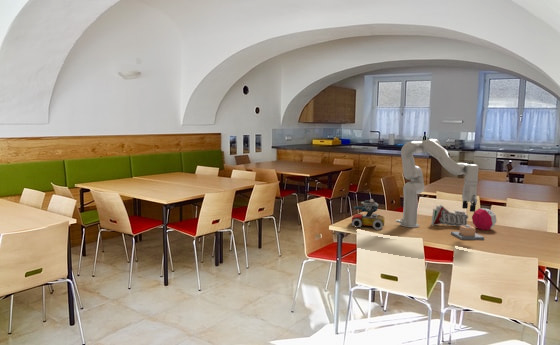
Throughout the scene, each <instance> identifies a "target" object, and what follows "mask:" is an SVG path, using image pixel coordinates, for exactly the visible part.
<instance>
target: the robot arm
mask: <svg viewBox="0 0 560 345" xmlns="http://www.w3.org/2000/svg"><path fill="white" fill-rule="evenodd" d="M422 153H428V154H430V155H431V156H432V157H433V158H435V159H436V160H437V161H438V162H439V163H440V165H441V166H442V167H443V168H444V169H445V170H446V171H448V173H450V174H451V175H454V176H459V175H464V182H463V183H464V184H463V189H462V194H461V199H462V207H461V208H462V209H463V210H464V209H466V210H467V209H468V205H469V203H470V205H469V212H471V213H472V212H473V213H474V212H475V211H476V206H477V203H478V198H477V196H478V195H477V194H478V192H477V191H478V189H477V187H478V181H479V180H478V178H479V165H478V164H473V163H470V164H469V163H465V162H456V161H455V160H453V159H452V158H451V157H450V156H449V152H448V150H447V149H446V148H445V147H443V146H442V145H441V142H440V141H439V139H436V138H428V139H425V140H411V141H408V142H406V143H404V145H403V146H402V147H401V150H400V155H401V162H402V172H403V177H404V178H405V179H406V180H410V181H408V182H406V183H405V184H404V185H403V188H402V189H403V190H402V192H403V208H402V209H403V211H402V218H401V219H395V223H399V225H400V226H401V227H404V228H418V227H419V226H420V225H419V223H418V209H419V208H418V203H419V202H418V201H419V199H418V195H419V194H422V193H423V191H424V190H425V182H424V180H425V179H424V174H423V170H422V168H421V167H420V166H418V165H416V161H415V157H414V154H422Z"/></svg>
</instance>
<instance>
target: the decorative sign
mask: <svg viewBox="0 0 560 345" xmlns="http://www.w3.org/2000/svg"><path fill="white" fill-rule="evenodd" d="M468 219H469V215H468V214H466V212H465V211H462V210H461V211H460V210H454V212H453V211H449V210H448V209H447V208H445V207H444V205H442V204H440V205H436V206H435V208H433V209H432V216H431V223H430V225H431V226H432V225H435V226H439V225H442V226H443V225H446V226H451V227H453V226H455V227H460V226H466V225H468Z"/></svg>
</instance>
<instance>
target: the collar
mask: <svg viewBox="0 0 560 345" xmlns="http://www.w3.org/2000/svg"><path fill="white" fill-rule="evenodd" d="M458 232H459V233H460V234H462V235H464V236H475V233H476V227H475V226H472V225H470V228H466V227H465V226H459V231H458Z"/></svg>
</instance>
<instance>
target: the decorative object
mask: <svg viewBox="0 0 560 345" xmlns="http://www.w3.org/2000/svg"><path fill="white" fill-rule="evenodd" d="M471 219H472V224H473V225H474V227H475V228H477V229H479V230H481V229H482V231H489V230H491V229H492V228H494V227H495V225H496V223H497V222H498V221H497V215H496V214H495V212H494V211H493V210H492V209H489V208H478V209H475V212H473V213H472V215H471Z"/></svg>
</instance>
